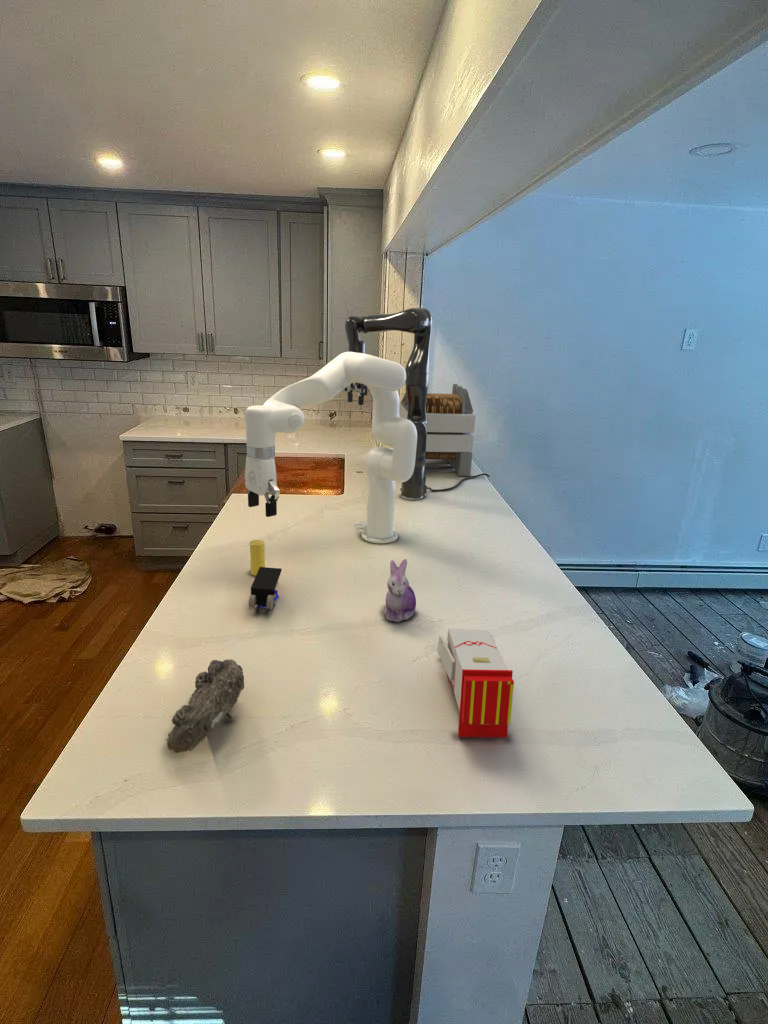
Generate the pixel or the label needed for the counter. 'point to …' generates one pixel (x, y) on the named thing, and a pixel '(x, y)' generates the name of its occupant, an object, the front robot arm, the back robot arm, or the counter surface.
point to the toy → (478, 682)
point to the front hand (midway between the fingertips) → (262, 510)
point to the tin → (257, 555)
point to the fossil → (206, 705)
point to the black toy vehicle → (264, 588)
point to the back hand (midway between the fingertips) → (355, 403)
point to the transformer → (448, 428)
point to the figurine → (399, 594)
